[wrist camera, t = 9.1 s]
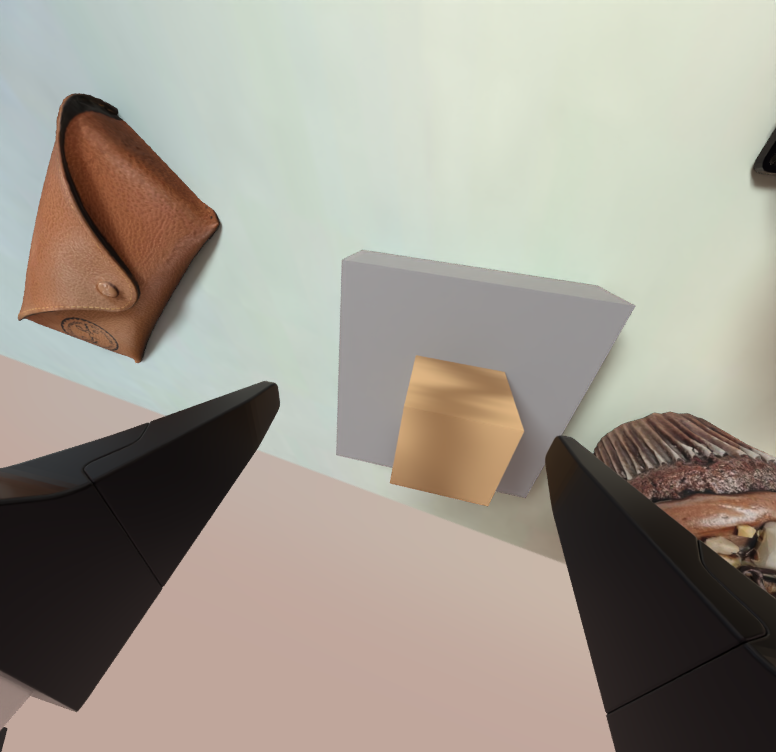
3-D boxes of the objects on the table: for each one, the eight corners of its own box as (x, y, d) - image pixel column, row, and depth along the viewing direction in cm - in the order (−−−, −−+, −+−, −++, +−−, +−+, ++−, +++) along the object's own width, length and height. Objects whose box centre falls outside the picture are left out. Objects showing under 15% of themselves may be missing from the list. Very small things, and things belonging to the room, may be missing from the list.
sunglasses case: (142, 371, 27) (28, 377, 21) (120, 311, 28) (9, 302, 23) (227, 216, 19) (78, 156, 13) (189, 144, 20) (42, 62, 14)
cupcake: (610, 510, 25) (693, 667, 16) (555, 437, 22) (620, 579, 14) (755, 472, 21) (969, 657, 12) (709, 375, 18) (941, 526, 10)
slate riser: (597, 285, 17) (635, 305, 13) (514, 456, 24) (525, 498, 20) (362, 249, 18) (341, 259, 15) (351, 421, 25) (336, 455, 22)
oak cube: (504, 372, 16) (524, 431, 12) (479, 438, 19) (488, 506, 14) (415, 355, 17) (404, 406, 12) (403, 421, 19) (389, 483, 15)
